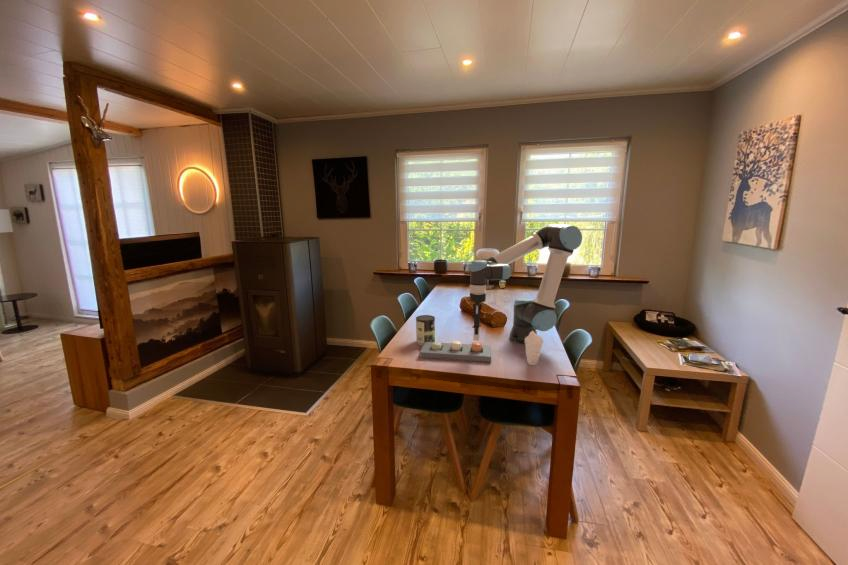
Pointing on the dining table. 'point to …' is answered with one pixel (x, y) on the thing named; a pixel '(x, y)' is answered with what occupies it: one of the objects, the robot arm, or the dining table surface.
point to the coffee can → (425, 329)
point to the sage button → (436, 346)
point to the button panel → (456, 353)
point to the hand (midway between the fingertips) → (476, 339)
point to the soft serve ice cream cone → (533, 347)
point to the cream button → (455, 346)
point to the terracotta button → (476, 347)
